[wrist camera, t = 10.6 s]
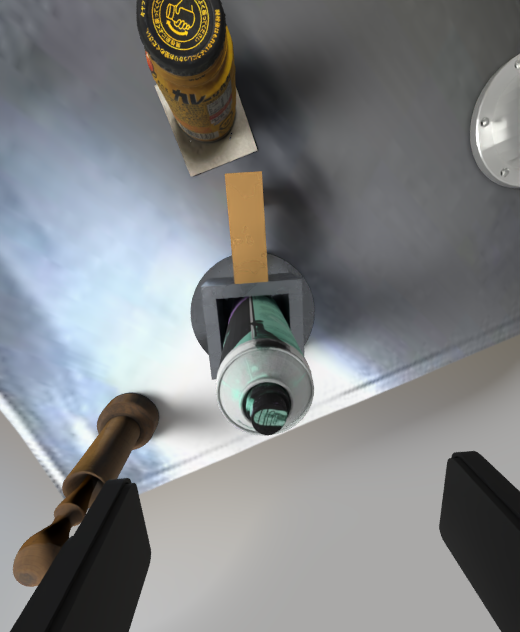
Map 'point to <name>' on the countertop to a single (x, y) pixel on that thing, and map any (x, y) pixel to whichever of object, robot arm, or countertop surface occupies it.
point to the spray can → (262, 370)
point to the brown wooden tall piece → (89, 480)
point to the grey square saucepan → (248, 274)
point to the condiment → (196, 79)
